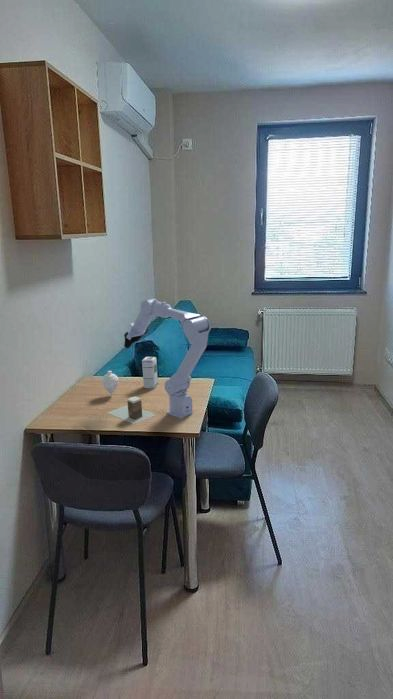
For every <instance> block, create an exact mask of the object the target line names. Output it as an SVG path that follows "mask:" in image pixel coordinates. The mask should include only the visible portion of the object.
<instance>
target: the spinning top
mask: <svg viewBox="0 0 393 699" xmlns="http://www.w3.org/2000/svg"><path fill="white" fill-rule="evenodd" d="M119 381H120V379H119V377H118V376H117V374H115V373H113V371H112V370H107V373H106V374H104V376H103V377H102V379H101V383H102V384H101V385H103V387H104V389H105V390H106V391H107V392H108V393H109V394H110V395H111V396H113V393H114V392H115V391H116V388H117V387H118V386H119V383H120V382H119Z"/></svg>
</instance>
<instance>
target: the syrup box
mask: <svg viewBox="0 0 393 699" xmlns="http://www.w3.org/2000/svg"><path fill="white" fill-rule="evenodd" d="M157 361H158V360H157V357H156V356H145V357H144V358H143V359H142V360H141V365H142V366H141V367H142V378H143V388H145V389H156V388H157V387H158V385H159V380H158V379H159V378H158V363H157Z"/></svg>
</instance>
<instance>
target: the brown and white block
mask: <svg viewBox="0 0 393 699" xmlns="http://www.w3.org/2000/svg"><path fill="white" fill-rule="evenodd" d="M142 404H143V403H142V398H141V397H138V396H133V397H132V396H131V397H130V398H127V405H128V415H129V417H130V418H132V419H134V420H135V419H138V418H140V417H142V409H143V406H142Z"/></svg>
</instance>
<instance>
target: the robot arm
mask: <svg viewBox="0 0 393 699" xmlns="http://www.w3.org/2000/svg"><path fill="white" fill-rule="evenodd" d="M154 316H156V317H160V318H163V319H168V318H171V319H175V320H177V321H180V327H181V328H182V332H183V333H184V335H185V337H186V339H187V341H188V343H189V344H190V345H191V346H190V347H189V349H188V350H187V352H186V354H185V356H184V358H183V359H182V362H181V363H180V365H179V367H178V368H177V370H176V372H175V373H174V374H173V375H172V376H170V378H168V379H167V380H166V381H165V382H164V390H165V392H166V393H167V395H168V399H169V409H168V410H167V411H165V413H166V414H168V415H171V416H172V417H176V418H179V419H183V418H185V417H188V416H189V415H191V414H194V413H195V412H194V411H193V410H194V409H193V399H192V397H191V396H190V395H189V394H188V393H187V392H188V389H189V388H190V386H191V381H192V377H191V374H192V373H193V371H194V369H195V368H196V366H197V364H198V362H199V360H200V358H201V357H202V355H203V353H204V352H205V350H206V348H207V347H208V340H209V334H210V331H211V329H212V327H211V324H210V320H209V319H208V318H207V316H203V315H202V316H201V314H198V313H194V312H193V313H192V312H188V311H184V310H181V309H177V308H176V309H175V308H173V307H172V305H170V304H168V303H167V301H159V300H157V298H151V299H149V298H148V299H145V300H142V301H141V302H140V311H139V312H138V315H137V317H136V318H135V321H134V322H131V323H130V325H129V326H130V327H131V328H130V330H129V332H128V331H126V332H125V333H124V335H123V336H124V344H123V347H125V348H126V349H130V347H131V346H132V345H133V344H134V343H135V342H138V341H140V339H141V338H143V336H145V334H147V333H148V332H149V329H147V328H148V327H149V325H150V323H151V321H152V319H153V317H154Z"/></svg>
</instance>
